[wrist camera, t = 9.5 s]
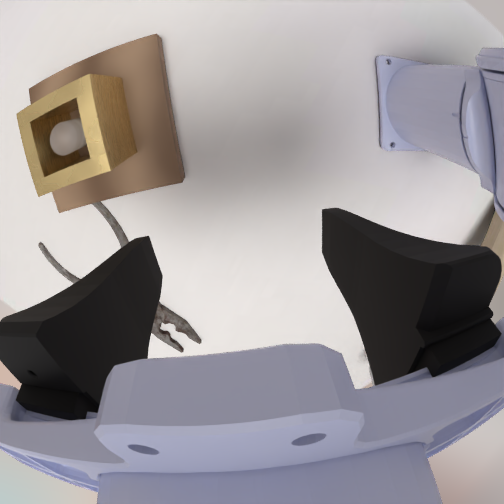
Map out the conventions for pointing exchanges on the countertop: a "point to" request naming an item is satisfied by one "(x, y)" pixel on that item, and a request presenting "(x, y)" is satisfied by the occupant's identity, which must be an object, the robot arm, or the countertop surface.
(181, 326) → the pliers
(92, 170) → the collar
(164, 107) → the post board
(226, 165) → the countertop surface
